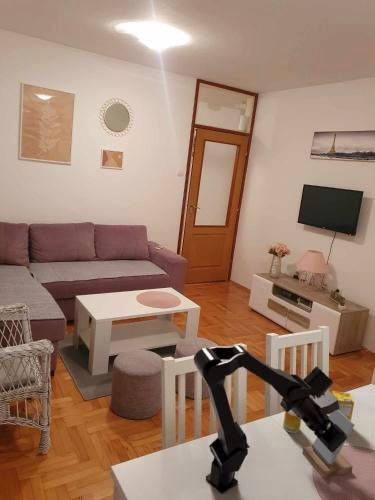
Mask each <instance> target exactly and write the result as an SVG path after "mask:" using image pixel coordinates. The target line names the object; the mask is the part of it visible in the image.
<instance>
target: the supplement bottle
mask: <svg viewBox="0 0 375 500" xmlns="http://www.w3.org/2000/svg"><path fill="white" fill-rule="evenodd" d="M284 411H285V410H284ZM283 417H284V418H283V423H282V426H283V429H284V430H285V431H287V432H289V433H291V434H296V433H299V432H300V428H301V423H302V419H301V418H300V417H298V416H297V415H296V414H295V413H294V412H293V411H292V410H290V411H289V412H286V411H285V412H284V416H283Z"/></svg>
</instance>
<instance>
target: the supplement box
mask: <svg viewBox="0 0 375 500" xmlns="http://www.w3.org/2000/svg"><path fill="white" fill-rule="evenodd" d="M331 393H332V394H333V395H334V396H336V397H337V398H338V402H339V406H340V408H339V409H338V410H339V411H340V412H341V413H342V414H343V415H344V416H346V417H347V418H348V419H349V420H350V421H351V422H352V416H353V411H354V405H355V401H354V400H353V398H352V396H351V394H350V392H349V393H348V392H344V391H343V392H341V391H335V390H332V392H331ZM330 414H331V413H330ZM330 414H327V415H328V416H329V415H330Z"/></svg>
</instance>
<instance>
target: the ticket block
mask: <svg viewBox="0 0 375 500" xmlns="http://www.w3.org/2000/svg"><path fill="white" fill-rule="evenodd" d="M302 454H303V456H304V458H306V459H307V461H308V462H309V464H310V465H312V466H313V468H314V469H315V471H316V472H317V473H318V474H319V475H320V477H321V478H322V479H323V478H329V477H334V476H335V477H336V476H339V475H345V474H349V473H352V471H353V465H352V464H351V463H350V462H349V461H348V460H347V459H346V458H345V456H343V454H342V453H341V451H340V452H339V454H338V455H337V457H336V459H335V461H334V462H333V464H332V466H331V467H330V466H328V465H327V464H326V463H325V462H324V461H323V459H322V458H321V457H320V456H319V455H318V454H317V453H316V451H315V450H314V449H313V448H312V445H309V446H303V449H302Z"/></svg>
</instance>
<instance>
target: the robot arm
mask: <svg viewBox="0 0 375 500" xmlns="http://www.w3.org/2000/svg"><path fill="white" fill-rule="evenodd" d="M222 360H226V361H224V362H223V361H222ZM193 363H194V365H195V367H196V369H197V371H198V373H199V374H200V376H201V378H202V380H203V381H204V384H206V387H207V392H208V395H209V397H210V401H211V405H212V408H213V411H214V414H215V418H216V422H217V425H218V430H217V437H216V438H215V439H214V440H213V441H212V443H210V444H209V445H208V448H209V450H210V452H211V454H212V456H213V460H212V461H211V465H210V473H209V474H207V475H206V476H205V479H206V481H208V483H209V484H210V485H211V486H213V487H214V488H215V489H216V490H217V491H218V492H219V493H220V494H224V493H225V492H228V491H229V490H230V489H232V488H234V487H235V486H236V485H238V483H239V480H238V479H236V478H235V475H236V472H239V471H240V470H241V467H242V465H243V463H244V462H245V459H246V456H248V455H249V449H250V445H249V444H248V439H247V435H246V433H245V431H243V429H242V427H241V426H240V424H239V423H238V421H235V419H234V417H233V413H232V409H231V406H230V401H229V399H228V395H227V393H226V389H225V381H226V377H228V376H230V375H232V374H233V373H234V372H236V371H238V369H240V368H243V369H246V370H247V371H249V372H250V373H251V374H253V375H255V376H256V377H258V378H260V380H262V381H264V382H266V383H267V384H268V385H269V386H271V387H272V388H273V389H274V390H275V391H276V392H277V394H279V396H281V397H282V399H281V401H280V403H279V405H280V406H281V407H282V409H283V410H284V411H286V412H289V411H290V410H292V411H293V412H294V413H295V414H296V415H297V416H298V417H300V418H301V421H302V422H304V423H305V426H306V427H307V428H308V429H309V431H310V430H311V431H312V432H313V434H314V436H315V437H316V438H317V437H318V438H319V439H320V441H321V442H322V443H323V444H324V445H325V446H326V447H327V449H328V450H329V451H330V452H334V451H335V450H336V449H337V448H338V447H339V446H340V445H341V444H342V443H343V442H344V441H345V440H346V439H347V440H348V438H347V435H346V434H345V432H344V431H343V430H342V429H340V428H339V427H338V426H337V425H336V424H334V423H333V422H332V421H331V420H330V419H329V416H328V414H330V413H332V412H334V411H336V410H338V409H339V408H340V406H339V402H338V398H337V397H336V396H334V395H333V394H332V392H331V391H329V389H330V388H331V387H332V386H333V385H334V384H335V382H334V381H333V380H332V379H331V378H330V377H329V376H327V374H326V373H324V371H323V370H322V369H321V368H320V367H318V366H315V367H314V368H313V369H312V370H311V371H310V373H308V374H307V376H305V377H304V378H302V377H301V376H299V375H298V374H292V373H289V372H287V371H285V370H282V369H280V368H274V367H272V366H270V365H269V364H267V363H266V362H265V361H263V360H262V359H260V358H258V357H257V356H256V355H254V354H253V353H251V352H250V351H248V350H247V349H246V348H245V347H244V346H243V345H240V344H234V345H230V346H220V345H219V346H218V345H217V346H212V347H204V348H200V349H199V350H198V351H197V352H196V354H195V355H194V356H193ZM310 396H312V397H310ZM347 440H346V441H347ZM346 441H345V442H346Z"/></svg>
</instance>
